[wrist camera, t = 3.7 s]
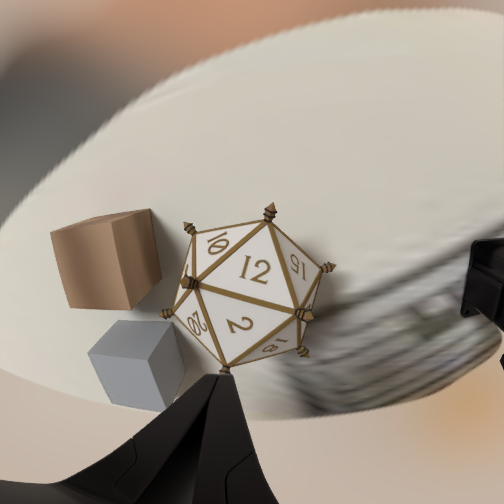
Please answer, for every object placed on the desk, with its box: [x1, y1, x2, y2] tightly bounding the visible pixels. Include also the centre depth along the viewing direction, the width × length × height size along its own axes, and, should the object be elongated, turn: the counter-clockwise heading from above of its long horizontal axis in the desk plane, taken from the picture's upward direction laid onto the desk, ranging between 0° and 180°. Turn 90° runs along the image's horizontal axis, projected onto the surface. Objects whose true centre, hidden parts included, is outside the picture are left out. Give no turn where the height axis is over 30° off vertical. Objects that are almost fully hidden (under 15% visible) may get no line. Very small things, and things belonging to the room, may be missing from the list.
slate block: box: [88, 320, 186, 412], centre depth 19 cm, size 5×5×5 cm
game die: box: [158, 202, 336, 375], centre depth 14 cm, size 9×8×10 cm
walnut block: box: [50, 208, 162, 310], centre depth 16 cm, size 5×5×5 cm
